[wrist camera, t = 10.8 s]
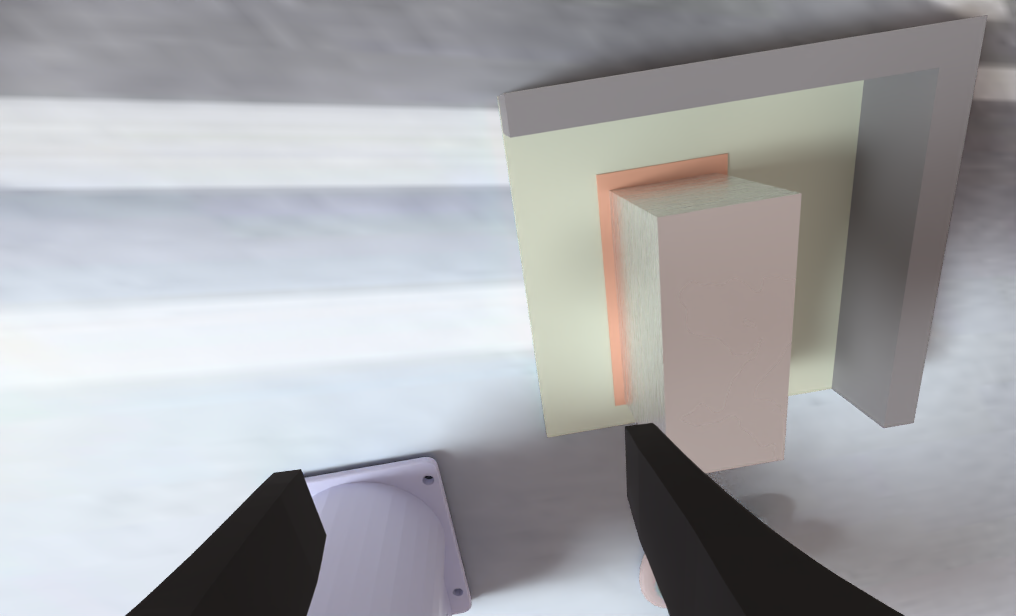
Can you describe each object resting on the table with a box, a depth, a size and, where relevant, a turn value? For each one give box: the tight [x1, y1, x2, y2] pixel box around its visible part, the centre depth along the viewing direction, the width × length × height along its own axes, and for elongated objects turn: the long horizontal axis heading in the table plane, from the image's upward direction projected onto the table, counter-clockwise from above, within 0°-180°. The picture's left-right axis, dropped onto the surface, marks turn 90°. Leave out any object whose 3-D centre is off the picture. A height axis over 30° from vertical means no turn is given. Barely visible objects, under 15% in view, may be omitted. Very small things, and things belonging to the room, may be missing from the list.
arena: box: [497, 15, 987, 438], centre depth 18 cm, size 14×14×3 cm
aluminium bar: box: [609, 173, 802, 473], centre depth 18 cm, size 9×4×5 cm, turn 9°
